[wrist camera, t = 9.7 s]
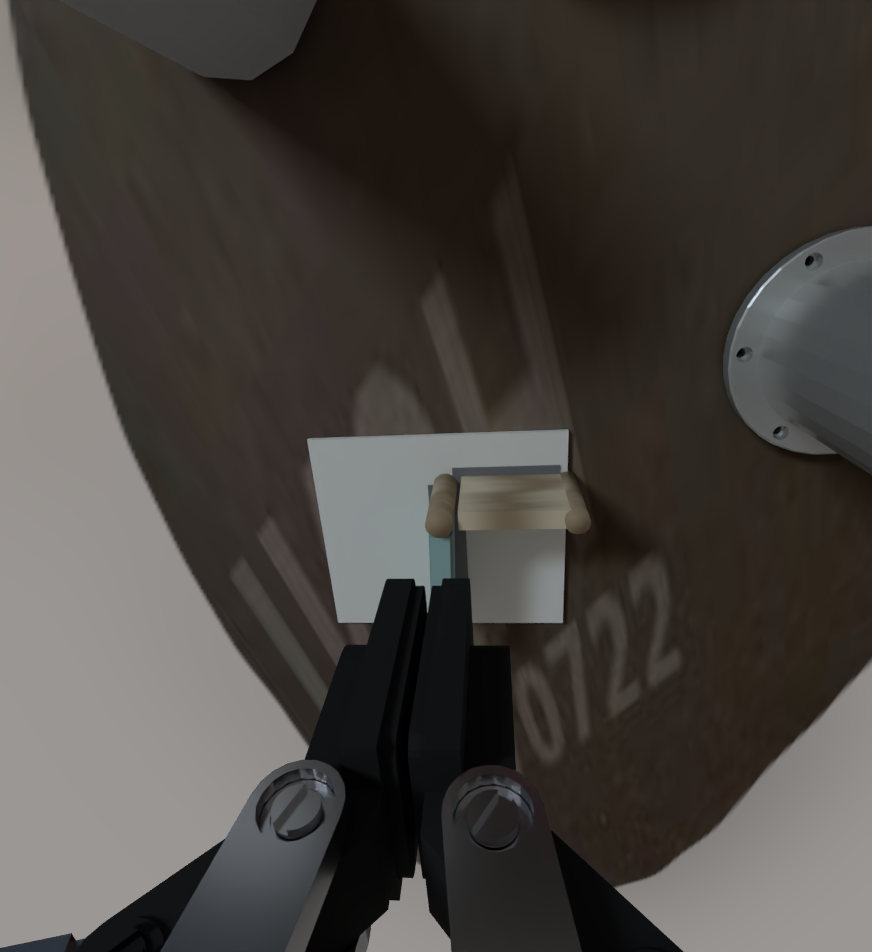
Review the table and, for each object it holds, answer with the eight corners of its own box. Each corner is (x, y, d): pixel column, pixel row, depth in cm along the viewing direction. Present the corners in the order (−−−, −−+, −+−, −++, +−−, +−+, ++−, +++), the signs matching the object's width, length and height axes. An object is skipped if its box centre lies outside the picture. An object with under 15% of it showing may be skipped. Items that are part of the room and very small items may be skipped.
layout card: (568, 429, 35) (568, 431, 35) (562, 620, 41) (562, 623, 41) (308, 438, 37) (306, 440, 37) (339, 620, 43) (338, 623, 43)
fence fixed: (576, 468, 36) (591, 510, 31) (575, 490, 37) (590, 535, 31) (433, 472, 37) (423, 513, 32) (434, 493, 38) (426, 538, 32)
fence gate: (434, 502, 37) (427, 538, 33) (455, 502, 37) (451, 539, 33) (438, 607, 41) (432, 652, 36) (457, 607, 41) (453, 653, 36)
